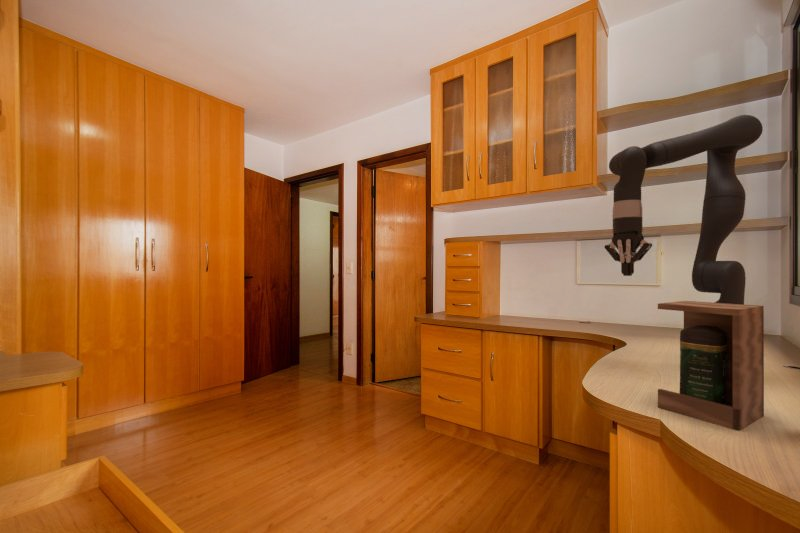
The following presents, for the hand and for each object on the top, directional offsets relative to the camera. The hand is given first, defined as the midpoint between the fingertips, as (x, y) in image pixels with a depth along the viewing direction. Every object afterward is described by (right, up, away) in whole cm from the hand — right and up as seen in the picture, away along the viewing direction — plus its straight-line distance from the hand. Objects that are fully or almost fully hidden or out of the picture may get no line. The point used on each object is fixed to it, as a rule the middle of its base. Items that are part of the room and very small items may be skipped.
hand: (627, 275), depth 110 cm
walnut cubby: (0, -29, -29) cm, 41 cm away
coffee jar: (-1, -29, -28) cm, 40 cm away
